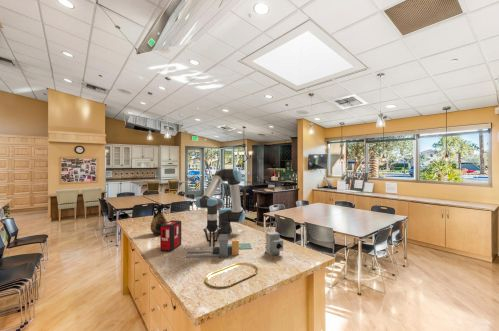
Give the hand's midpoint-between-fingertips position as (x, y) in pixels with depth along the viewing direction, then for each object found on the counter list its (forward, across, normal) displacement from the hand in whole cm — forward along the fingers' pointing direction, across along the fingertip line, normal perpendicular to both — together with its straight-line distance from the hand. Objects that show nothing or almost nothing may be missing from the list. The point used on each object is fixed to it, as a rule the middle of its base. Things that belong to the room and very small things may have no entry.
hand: (212, 250), depth 170 cm
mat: (+2, +21, +14) cm, 25 cm away
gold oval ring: (+3, +15, -34) cm, 37 cm away
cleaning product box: (+3, -33, +16) cm, 37 cm away
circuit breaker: (+3, +47, -4) cm, 47 cm away
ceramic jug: (+3, -54, +54) cm, 77 cm away
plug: (+2, +11, 0) cm, 11 cm away
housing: (+2, -3, 0) cm, 4 cm away
